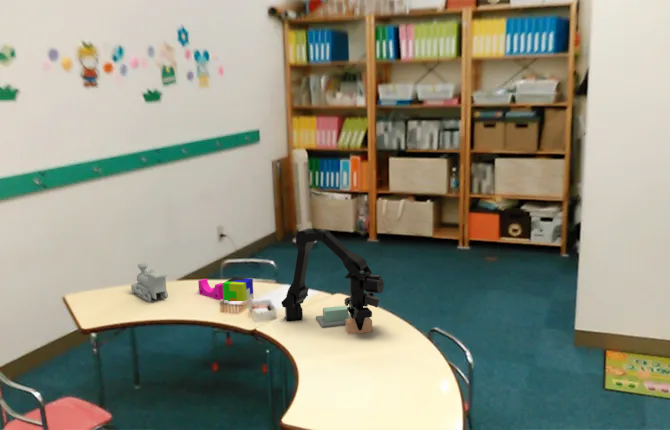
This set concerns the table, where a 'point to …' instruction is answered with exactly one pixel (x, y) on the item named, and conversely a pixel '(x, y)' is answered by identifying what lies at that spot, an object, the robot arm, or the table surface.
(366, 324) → the terracotta brick
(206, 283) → the toy block
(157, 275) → the toy train
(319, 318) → the baseplate
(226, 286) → the puzzle toy
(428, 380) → the table surface
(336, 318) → the teal brick
